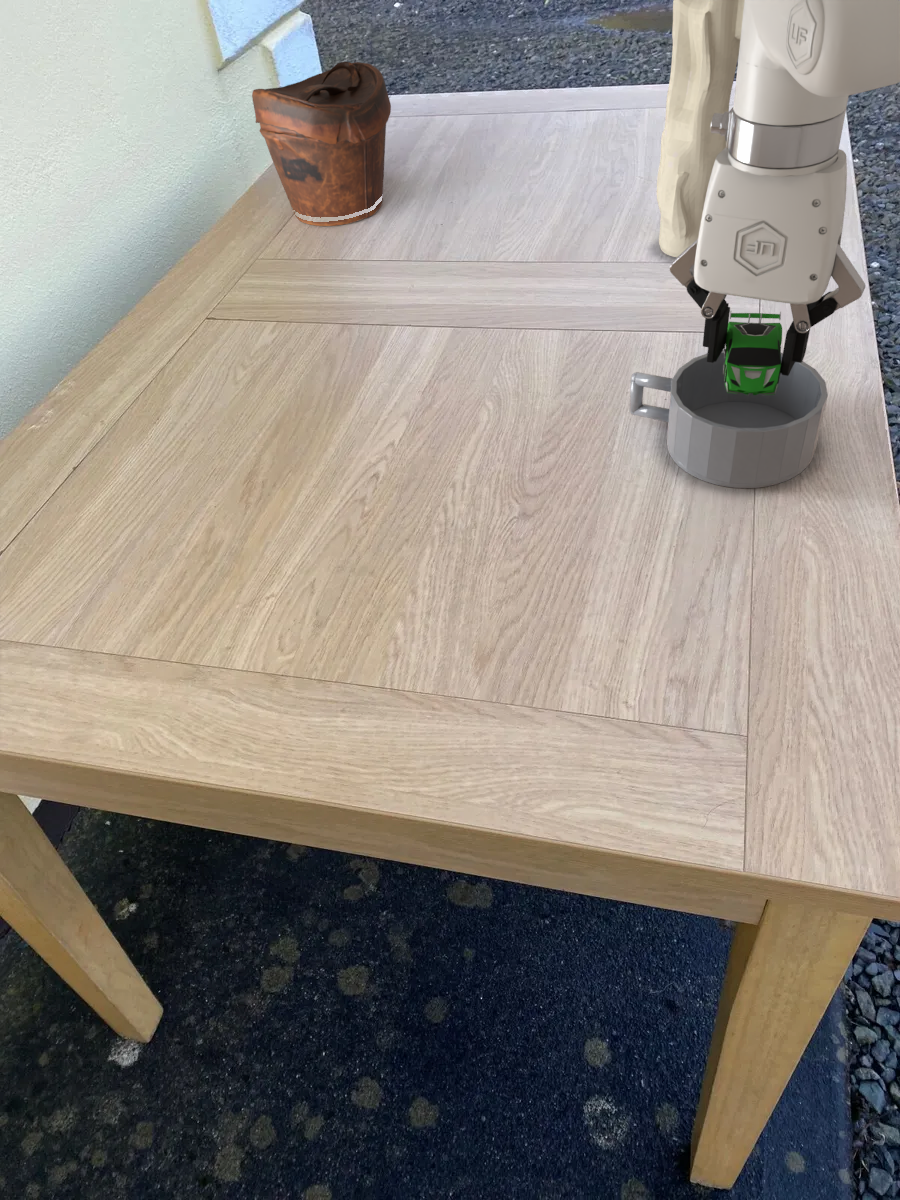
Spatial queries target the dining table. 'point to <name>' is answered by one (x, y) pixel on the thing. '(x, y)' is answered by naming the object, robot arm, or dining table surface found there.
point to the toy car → (753, 355)
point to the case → (328, 140)
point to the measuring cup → (736, 423)
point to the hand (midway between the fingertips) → (751, 358)
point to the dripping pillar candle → (695, 113)
